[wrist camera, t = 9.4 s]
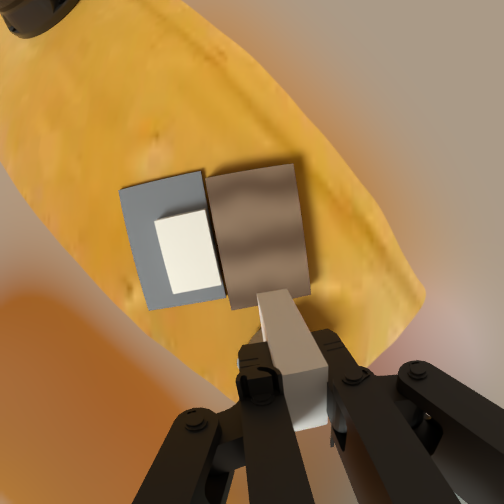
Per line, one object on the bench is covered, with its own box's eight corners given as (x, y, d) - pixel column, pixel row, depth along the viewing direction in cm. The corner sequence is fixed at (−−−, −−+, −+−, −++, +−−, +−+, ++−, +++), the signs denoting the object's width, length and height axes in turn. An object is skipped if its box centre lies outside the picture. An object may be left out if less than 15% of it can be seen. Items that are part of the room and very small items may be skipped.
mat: (120, 190, 33) (118, 190, 33) (200, 171, 34) (200, 170, 33) (149, 308, 37) (148, 310, 37) (225, 296, 38) (225, 297, 37)
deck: (206, 178, 34) (205, 178, 32) (288, 164, 34) (293, 163, 32) (231, 302, 38) (231, 310, 36) (306, 287, 38) (311, 294, 36)
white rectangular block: (158, 218, 34) (154, 221, 32) (206, 208, 34) (204, 209, 32) (175, 288, 36) (173, 294, 34) (221, 279, 37) (221, 284, 35)
